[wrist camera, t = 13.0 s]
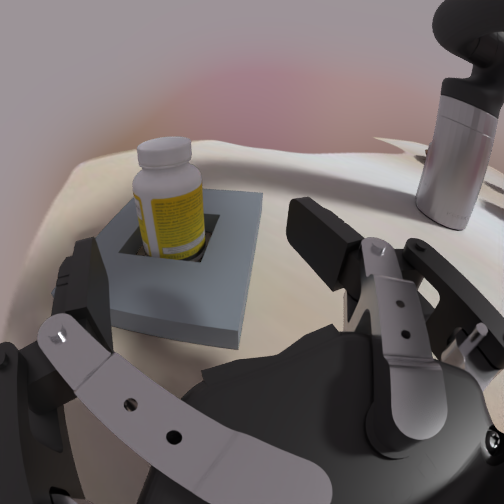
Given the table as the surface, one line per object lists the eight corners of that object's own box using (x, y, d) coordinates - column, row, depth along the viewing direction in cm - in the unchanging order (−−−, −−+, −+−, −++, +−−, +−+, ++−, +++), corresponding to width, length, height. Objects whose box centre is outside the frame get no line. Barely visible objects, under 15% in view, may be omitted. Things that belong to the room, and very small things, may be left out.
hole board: (146, 201, 31) (144, 186, 30) (261, 209, 30) (262, 193, 29) (61, 311, 17) (51, 293, 16) (238, 349, 16) (238, 330, 15)
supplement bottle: (217, 244, 25) (215, 136, 19) (183, 280, 21) (169, 156, 15) (169, 230, 26) (159, 132, 20) (134, 260, 22) (111, 151, 16)
